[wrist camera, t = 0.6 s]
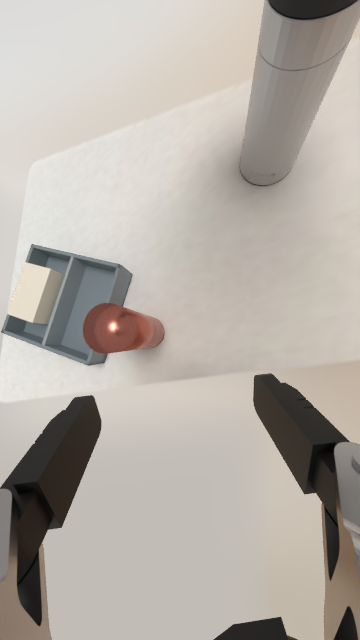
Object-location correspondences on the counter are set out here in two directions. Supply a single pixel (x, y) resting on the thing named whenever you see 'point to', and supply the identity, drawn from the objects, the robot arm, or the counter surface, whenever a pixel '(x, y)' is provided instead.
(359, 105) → the counter surface
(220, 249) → the counter surface
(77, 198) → the counter surface
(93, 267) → the tray
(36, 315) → the cream block
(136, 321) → the copper cylinder
